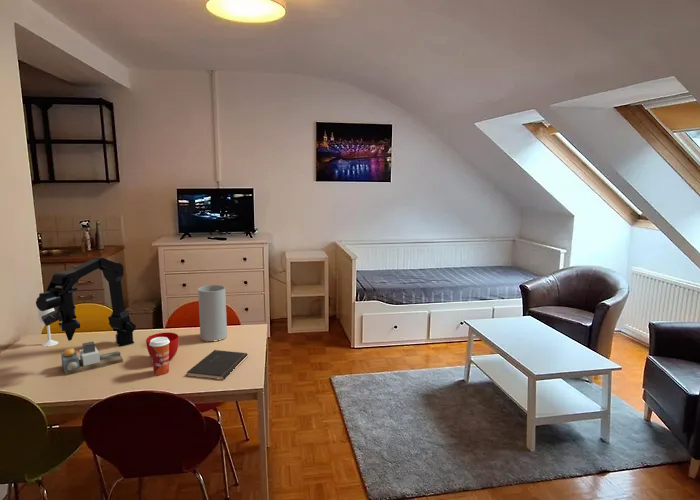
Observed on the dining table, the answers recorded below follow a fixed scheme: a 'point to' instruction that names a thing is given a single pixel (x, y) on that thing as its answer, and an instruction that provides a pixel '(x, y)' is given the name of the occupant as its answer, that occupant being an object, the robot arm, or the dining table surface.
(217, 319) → the cylinder vase
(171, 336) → the ceramic cup
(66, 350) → the button
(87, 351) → the carriage
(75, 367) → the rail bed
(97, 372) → the dining table surface
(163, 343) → the paper cup
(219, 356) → the hardcover book
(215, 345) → the dining table surface
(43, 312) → the champagne flute
